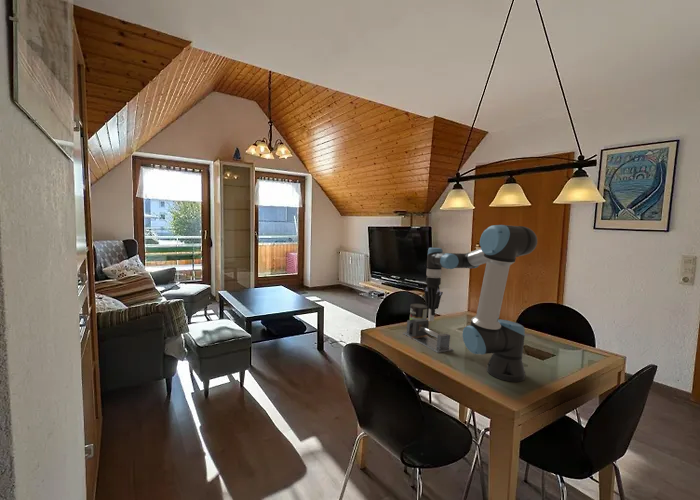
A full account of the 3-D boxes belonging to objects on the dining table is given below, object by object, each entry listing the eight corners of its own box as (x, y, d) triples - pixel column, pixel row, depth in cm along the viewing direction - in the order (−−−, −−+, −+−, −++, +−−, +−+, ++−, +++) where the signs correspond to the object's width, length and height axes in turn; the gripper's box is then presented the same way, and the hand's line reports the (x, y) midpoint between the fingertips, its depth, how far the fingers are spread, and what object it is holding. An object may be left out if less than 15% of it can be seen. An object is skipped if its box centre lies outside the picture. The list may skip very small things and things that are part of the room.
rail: (453, 350, 171) (454, 335, 171) (437, 352, 167) (438, 337, 166) (416, 331, 198) (417, 318, 197) (402, 333, 194) (403, 320, 193)
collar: (427, 335, 188) (428, 320, 187) (415, 336, 184) (416, 321, 183) (424, 333, 191) (425, 318, 190) (412, 334, 187) (413, 320, 186)
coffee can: (413, 331, 199) (415, 307, 198) (406, 325, 209) (407, 303, 208) (429, 330, 202) (430, 307, 201) (420, 325, 212) (422, 303, 211)
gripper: (447, 278, 173) (444, 323, 175) (431, 275, 185) (428, 317, 187) (436, 278, 170) (433, 324, 172) (420, 275, 182) (417, 318, 183)
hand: (430, 320), depth 179 cm, fingers closed
